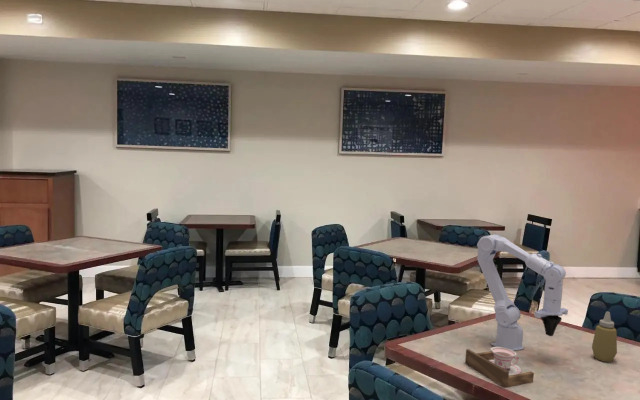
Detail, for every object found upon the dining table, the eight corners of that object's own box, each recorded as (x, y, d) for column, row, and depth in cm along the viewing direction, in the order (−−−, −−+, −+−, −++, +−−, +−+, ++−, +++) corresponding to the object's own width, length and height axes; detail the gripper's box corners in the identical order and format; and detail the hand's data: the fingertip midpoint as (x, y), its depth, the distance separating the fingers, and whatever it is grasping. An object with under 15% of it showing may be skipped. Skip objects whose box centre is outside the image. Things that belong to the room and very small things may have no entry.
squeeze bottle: (612, 356, 176) (617, 310, 174) (618, 365, 168) (623, 316, 166) (588, 353, 178) (593, 307, 177) (593, 361, 171) (598, 313, 169)
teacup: (479, 368, 160) (480, 351, 160) (490, 358, 170) (492, 341, 169) (515, 380, 153) (516, 362, 152) (525, 368, 162) (526, 351, 162)
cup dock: (491, 358, 169) (492, 345, 168) (533, 381, 152) (534, 367, 151) (465, 363, 164) (466, 349, 163) (504, 387, 147) (505, 372, 147)
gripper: (547, 303, 161) (544, 341, 162) (576, 300, 167) (573, 336, 168) (530, 297, 168) (527, 334, 169) (559, 294, 173) (556, 330, 175)
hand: (549, 335), depth 169 cm, fingers closed
